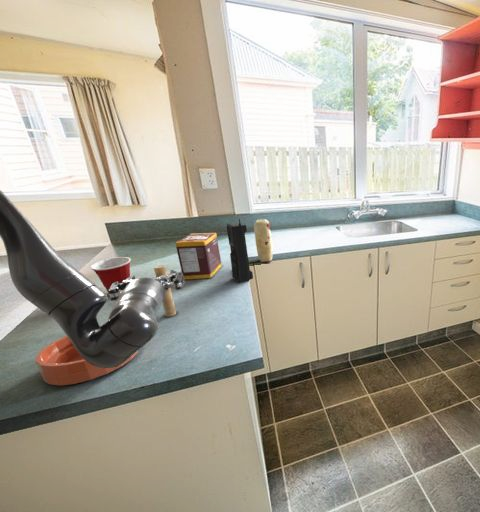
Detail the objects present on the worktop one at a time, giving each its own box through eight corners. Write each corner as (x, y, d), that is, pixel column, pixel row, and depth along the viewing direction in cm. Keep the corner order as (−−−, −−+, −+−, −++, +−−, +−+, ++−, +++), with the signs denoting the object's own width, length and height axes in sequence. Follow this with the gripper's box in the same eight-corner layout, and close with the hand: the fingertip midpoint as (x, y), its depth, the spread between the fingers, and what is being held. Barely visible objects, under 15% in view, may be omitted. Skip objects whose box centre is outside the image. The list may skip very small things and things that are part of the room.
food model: (277, 261, 142) (272, 220, 136) (263, 264, 137) (258, 221, 131) (268, 256, 148) (264, 217, 142) (255, 259, 144) (249, 218, 138)
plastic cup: (90, 299, 101) (79, 266, 98) (118, 286, 112) (109, 256, 108) (121, 300, 101) (111, 267, 97) (146, 287, 111) (138, 257, 108)
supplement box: (222, 265, 135) (216, 232, 130) (211, 278, 121) (204, 241, 116) (197, 267, 133) (190, 233, 128) (182, 279, 119) (174, 242, 114)
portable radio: (231, 277, 121) (221, 217, 114) (246, 274, 125) (237, 215, 118) (238, 283, 116) (228, 220, 108) (253, 279, 120) (245, 218, 112)
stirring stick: (165, 317, 90) (153, 268, 86) (166, 313, 93) (154, 265, 88) (175, 315, 92) (164, 267, 87) (176, 311, 94) (166, 264, 89)
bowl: (28, 398, 60) (18, 375, 58) (62, 353, 74) (55, 334, 72) (132, 372, 67) (125, 351, 66) (145, 335, 81) (140, 318, 80)
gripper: (176, 278, 67) (182, 258, 81) (93, 290, 61) (115, 267, 74) (183, 307, 70) (188, 283, 83) (103, 322, 63) (123, 294, 77)
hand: (153, 275), depth 79 cm, fingers open, 8 cm apart
